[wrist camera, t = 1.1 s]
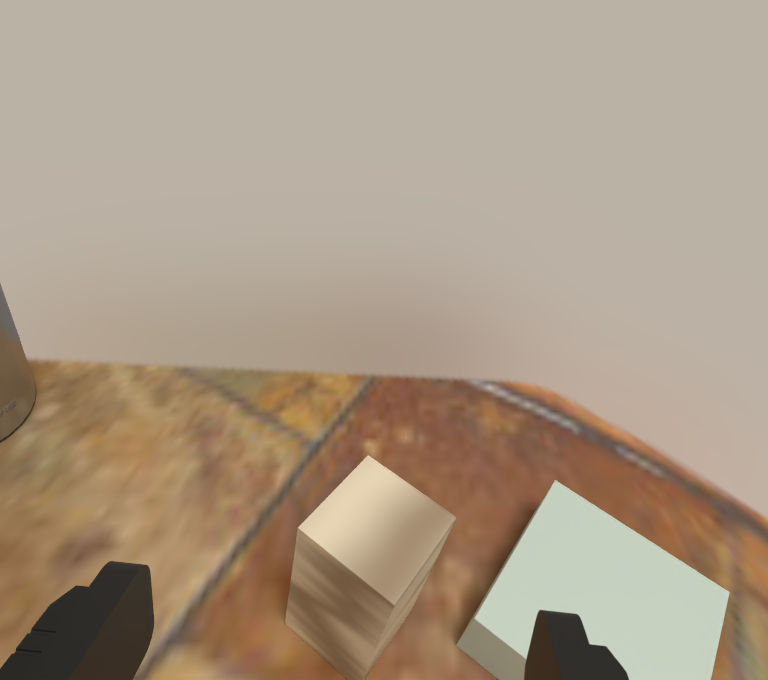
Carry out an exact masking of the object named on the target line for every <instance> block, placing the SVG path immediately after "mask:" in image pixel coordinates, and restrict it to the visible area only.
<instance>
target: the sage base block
mask: <svg viewBox="0 0 768 680" xmlns="http://www.w3.org/2000/svg"><path fill="white" fill-rule="evenodd" d="M728 596H729V592H728V591H726V590H725V589H723V588H722V587H720V586H719V585H717V584H716V583H714V582H712V581H711V580H709V579H708V578H706V577H705V576H703V575H702V574H700V573H699V572H697V571H695V570H694V569H692V568H691V567H689V566H688V565H686V564H685V563H683V562H681V561H680V560H678V559H677V558H675V557H674V556H672V555H671V554H669V553H667V552H666V551H664V550H663V549H661V548H660V547H658V546H657V545H655V544H653V543H652V542H650V541H649V540H647V539H646V538H644V537H643V536H641V535H640V534H638V533H636V532H635V531H633V530H632V529H630V528H629V527H627V526H626V525H624V524H622V523H621V522H619V521H618V520H616V519H615V518H613V517H612V516H610V515H608V514H607V513H605V512H604V511H602V510H601V509H599V508H598V507H596V506H595V505H593V504H591V503H590V502H588V501H587V500H585V499H584V498H582V497H581V496H579V495H577V494H576V493H574V492H573V491H571V490H570V489H568V488H567V487H565V486H563V485H562V484H560V483H559V482H557V481H556V480H555V481H554V483H553V484H552V486H551V487H550V489H549V490H548V492H547V493H546V495H545V497H544V498H543V500H542V501H541V503H540V504H539V506H538V507H537V509H536V510H535V512H534V513H533V515H532V517H531V519H530V520H529V522H528V524H527V525H526V527H525V529H524V530H523V532H522V534H521V536H520V537H519V539H518V541H517V542H516V544H515V546H514V547H513V549H512V551H511V552H510V554H509V556H508V558H507V559H506V561H505V563H504V564H503V566H502V568H501V569H500V571H499V573H498V575H497V576H496V578H495V580H494V581H493V583H492V585H491V586H490V588H489V590H488V591H487V593H486V595H485V597H484V598H483V600H482V602H481V603H480V605H479V607H478V608H477V610H476V612H475V614H474V615H473V617H472V619H471V620H470V622H469V624H468V625H467V627H466V629H465V630H464V632H463V634H462V636H461V637H460V639H459V641H458V642H457V644H456V645H457V646H458V647H459V648H460V649H461V650H463V651H464V652H465V653H466V654H468V655H469V656H470V657H471V658H473V659H474V660H475V661H476V662H478V663H479V664H480V665H481V666H483V667H484V668H485V669H486V670H487V671H489V672H490V673H491V674H492V675H494V676H495V677H496V678H497V679H499V680H524V672H525V664H526V659H527V655H528V650H529V646H530V642H531V638H532V633H533V629H534V625H535V621H536V617H537V614H538V612H539V610H547V611H556V612H565V613H574V614H578V615H579V616H580V618H581V620H582V623H583V626H584V629H585V632H586V635H587V638H588V641H589V644H592V645H601V646H606V647H607V648H608V649H609V650H610V652H611V653H612V654H613V655H614V657H615V658H616V659H617V660H618V662H619V663H620V664H621V665H622V667H623V668H624V669H625V671H626V672H627V675H628V678H629V680H711V676H712V671H713V666H714V662H715V657H716V652H717V648H718V643H719V638H720V634H721V629H722V624H723V620H724V615H725V610H726V606H727V601H728Z"/></svg>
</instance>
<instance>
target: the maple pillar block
mask: <svg viewBox="0 0 768 680" xmlns="http://www.w3.org/2000/svg"><path fill="white" fill-rule="evenodd" d="M456 518H457V517H455V516H454V515H452V514H451V513H449V512H448V511H447V510H445V509H444V508H442V507H441V506H439V505H438V504H437V503H435V502H434V501H432V500H431V499H430V498H428V497H427V496H425V495H424V494H422V493H421V492H420V491H418V490H417V489H415V488H414V487H413V486H411V485H410V484H408V483H407V482H405V481H404V480H403V479H401V478H400V477H398V476H397V475H395V474H394V473H393V472H391V471H390V470H388V469H387V468H386V467H384V466H383V465H381V464H380V463H378V462H377V461H376V460H374V459H373V458H371V457H370V456H369V455H368V456H367V457H366V458H365V459H364V460H363V461H362V462H361V463H360V464H359V465H358V466H357V467H356V468H355V469H354V470H353V471H352V472H351V474H350V475H349V476H348V477H347V478H346V479H345V480H344V481H343V482H342V483H341V484H340V485H339V486H338V487H337V488H336V489H335V490H334V491H333V492H332V493H331V494H330V495H329V496H328V497H327V498H326V499H325V500H324V501H323V502H322V503H321V505H320V506H319V507H318V508H317V509H316V510H315V511H314V512H313V513H312V514H311V515H310V516H309V517H308V518H307V519H306V520H305V521H304V522H303V523H302V524H301V525H300V526H299V527H298V531H297V538H296V545H295V553H294V560H293V567H292V575H291V582H290V589H289V597H288V604H287V611H286V619H285V624H286V625H287V626H288V627H289V628H290V629H291V630H292V631H293V632H295V633H296V634H297V635H298V636H299V637H300V638H301V639H302V640H304V641H305V642H306V643H307V644H308V645H309V646H310V647H311V648H313V649H314V650H315V651H316V652H317V653H318V654H319V655H320V656H322V657H323V658H324V659H325V660H326V661H327V662H328V663H329V664H331V665H332V666H333V667H334V668H335V669H336V670H337V671H338V672H340V673H341V674H342V675H343V676H344V677H345V678H346V679H347V680H365V678H366V677H367V675H368V674H369V672H370V671H371V670H372V668H373V667H374V665H375V664H376V662H377V661H378V659H379V658H380V656H381V655H382V653H383V652H384V650H385V649H386V647H387V646H388V644H389V643H390V641H391V640H392V638H393V637H394V635H395V634H396V632H397V631H398V630H399V628H400V627H401V625H402V624H403V622H404V621H405V619H406V618H407V616H408V615H409V613H410V612H411V610H412V608H413V606H414V604H415V602H416V600H417V598H418V596H419V594H420V592H421V590H422V588H423V586H424V583H425V581H426V579H427V577H428V575H429V573H430V571H431V569H432V567H433V565H434V563H435V561H436V559H437V557H438V555H439V553H440V551H441V549H442V546H443V544H444V542H445V540H446V538H447V536H448V534H449V532H450V530H451V528H452V526H453V524H454V522H455V520H456Z"/></svg>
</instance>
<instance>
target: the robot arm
mask: <svg viewBox="0 0 768 680" xmlns="http://www.w3.org/2000/svg"><path fill="white" fill-rule="evenodd" d="M35 396H36V388H35V383H34V379H33V376H32V374H31V371H30V368H29V365H28V362H27V359H26V356H25V354H24V351H23V348H22V345H21V342H20V338H19V336H18V333H17V330H16V327H15V324H14V321H13V318H12V316H11V313H10V310H9V307H8V304H7V301H6V299H5V296H4V293H3V290H2V287H1V284H0V441H1V440H2V439H4V438H5V437H7V436H8V435H10V434H11V433H12V432H13V431H14V430H15V429H16V428H17V427H18V426H19V425H20V424H21V423H22V422H23V421H24V419H25V418H26V417H27V416H28V414H29V413H30V411H31V409H32V406H33V404H34V402H35ZM153 628H154V613H153V600H152V588H151V575H150V569H149V567H148V566H147V565H142V564H132V563H123V562H114V561H110V562H108V563H107V564H106V565H105V566H104V567H103V568H102V569H101V571H100V572H99V574H98V575H97V576H96V578H95V579H94V581H93V582H92V583H91V585H90V586H89V587H84V586H75V587H74V588H72V589H71V590H70V591H68V592H67V593H65V594H64V595H63V596H61V597H60V598H59V599H57V600H56V601H55V602H53V603H52V604H51V605H50V606H49V607H48V608H47V610H46V611H45V612H44V613H43V615H42V616H41V617H40V619H39V620H38V621H37V622H36V624H35V625H34V626H33V627H32V630H31V633H30V634H27V635H26V636H25V638H24V639H23V640H22V642H21V643H20V644H19V645H18V647H17V648H16V652H15V653H14V654H11V656H10V657H9V658H8V660H7V661H6V662H5V663H4V665H3V666H2V667H1V669H0V680H132V679H133V678H134V676H135V674H136V672H137V670H138V668H139V666H140V664H141V662H142V660H143V658H144V656H145V654H146V652H147V650H148V647H149V645H150V641H151V638H152V634H153ZM524 680H629V678H628V675H627V672H626V671H625V669H624V668H623V667H622V665H621V664H620V663H619V662H618V660H617V659H616V658H615V657H614V655H613V654H612V653H611V652H610V650H609V649H608V648H607V647H606V646H601V645H592V644H589V641H588V638H587V635H586V632H585V629H584V626H583V623H582V620H581V618H580V616H579V615H578V614H574V613H565V612H556V611H547V610H539V612H538V614H537V617H536V621H535V625H534V629H533V633H532V638H531V642H530V646H529V650H528V655H527V659H526V664H525V672H524Z"/></svg>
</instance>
